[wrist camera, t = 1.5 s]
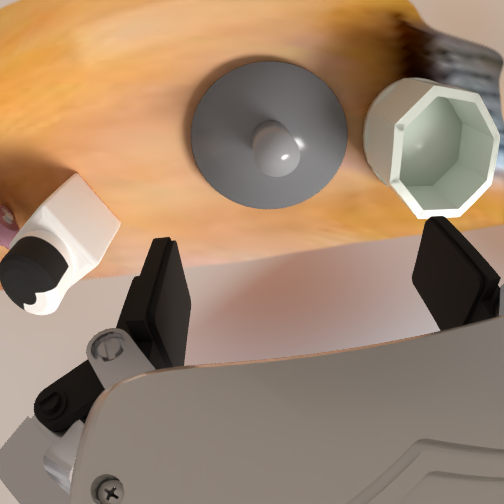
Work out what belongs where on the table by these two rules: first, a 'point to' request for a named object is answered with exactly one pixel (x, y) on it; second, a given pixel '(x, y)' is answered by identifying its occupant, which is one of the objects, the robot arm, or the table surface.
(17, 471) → the robot arm
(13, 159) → the table surface
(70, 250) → the medicine bottle
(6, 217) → the video game controller
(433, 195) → the bowl
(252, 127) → the lid
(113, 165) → the table surface
